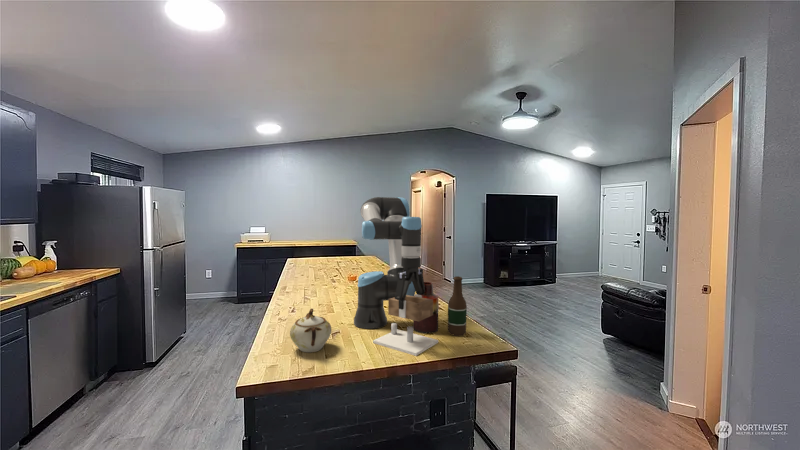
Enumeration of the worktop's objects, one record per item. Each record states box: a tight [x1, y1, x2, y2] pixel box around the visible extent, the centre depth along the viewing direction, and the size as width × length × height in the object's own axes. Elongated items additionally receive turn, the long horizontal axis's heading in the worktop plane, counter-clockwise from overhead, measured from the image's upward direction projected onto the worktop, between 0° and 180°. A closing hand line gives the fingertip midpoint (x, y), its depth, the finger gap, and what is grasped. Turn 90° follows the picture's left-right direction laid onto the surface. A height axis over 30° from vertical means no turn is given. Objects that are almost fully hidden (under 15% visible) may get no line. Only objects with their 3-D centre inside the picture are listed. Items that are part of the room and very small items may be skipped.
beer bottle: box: [447, 275, 468, 337], centre depth 146 cm, size 8×8×24 cm
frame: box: [387, 295, 433, 321], centre depth 133 cm, size 14×10×6 cm
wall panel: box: [372, 322, 439, 357], centre depth 135 cm, size 20×16×6 cm
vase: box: [412, 281, 439, 334], centre depth 150 cm, size 11×11×20 cm
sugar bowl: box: [289, 308, 332, 353], centre depth 128 cm, size 20×15×15 cm
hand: (410, 314), depth 133 cm, fingers closed on frame, 10 cm apart
